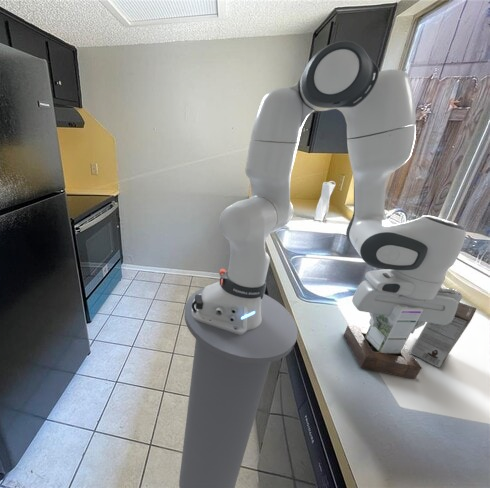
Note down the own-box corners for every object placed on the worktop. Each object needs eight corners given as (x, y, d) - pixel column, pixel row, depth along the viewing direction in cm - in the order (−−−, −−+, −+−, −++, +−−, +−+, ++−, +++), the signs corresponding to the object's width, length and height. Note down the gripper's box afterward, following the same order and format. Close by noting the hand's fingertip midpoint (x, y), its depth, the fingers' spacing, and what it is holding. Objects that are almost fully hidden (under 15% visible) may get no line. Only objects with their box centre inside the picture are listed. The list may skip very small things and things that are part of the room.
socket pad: (360, 367, 67) (366, 356, 65) (343, 335, 78) (347, 324, 76) (415, 379, 64) (422, 367, 63) (389, 343, 75) (394, 333, 74)
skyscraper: (325, 222, 177) (338, 182, 166) (312, 220, 181) (323, 180, 170) (325, 219, 184) (337, 180, 172) (313, 217, 188) (324, 178, 176)
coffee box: (417, 339, 77) (443, 295, 71) (446, 353, 73) (477, 307, 66) (408, 353, 72) (435, 306, 66) (439, 369, 68) (472, 321, 61)
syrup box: (400, 354, 67) (426, 309, 61) (378, 353, 67) (401, 308, 61) (383, 337, 72) (405, 295, 66) (363, 337, 72) (383, 294, 66)
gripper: (454, 283, 62) (428, 328, 68) (359, 270, 66) (342, 313, 72) (476, 298, 57) (446, 345, 62) (371, 283, 61) (351, 328, 66)
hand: (389, 328), depth 67 cm, fingers closed on syrup box, 6 cm apart
